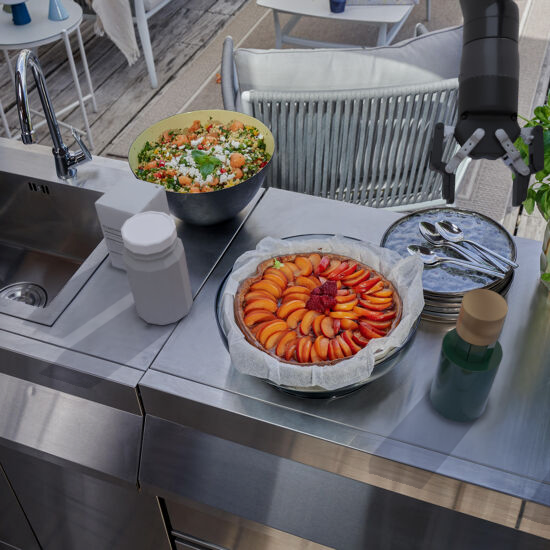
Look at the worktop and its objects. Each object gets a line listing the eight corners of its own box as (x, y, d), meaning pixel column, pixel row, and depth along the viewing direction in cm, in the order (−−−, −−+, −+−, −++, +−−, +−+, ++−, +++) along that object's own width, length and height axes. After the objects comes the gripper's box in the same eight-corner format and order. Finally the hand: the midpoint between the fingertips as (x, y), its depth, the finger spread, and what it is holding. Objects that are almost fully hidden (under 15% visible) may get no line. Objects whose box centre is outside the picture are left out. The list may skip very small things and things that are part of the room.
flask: (482, 380, 97) (504, 311, 86) (488, 425, 91) (512, 357, 81) (428, 376, 98) (444, 306, 87) (431, 420, 92) (448, 352, 82)
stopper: (491, 334, 88) (504, 290, 82) (496, 366, 84) (511, 322, 78) (449, 330, 89) (460, 287, 83) (452, 362, 85) (464, 319, 79)
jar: (140, 289, 113) (120, 208, 101) (195, 286, 113) (182, 205, 101) (133, 330, 106) (111, 249, 94) (192, 327, 106) (177, 246, 94)
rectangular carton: (138, 237, 124) (123, 173, 113) (178, 249, 121) (166, 184, 110) (110, 267, 118) (92, 202, 107) (151, 280, 115) (137, 215, 104)
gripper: (438, 71, 81) (432, 199, 80) (554, 73, 80) (549, 203, 79) (428, 89, 88) (424, 206, 88) (535, 91, 87) (530, 210, 87)
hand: (483, 204), depth 84 cm, fingers open, 8 cm apart
